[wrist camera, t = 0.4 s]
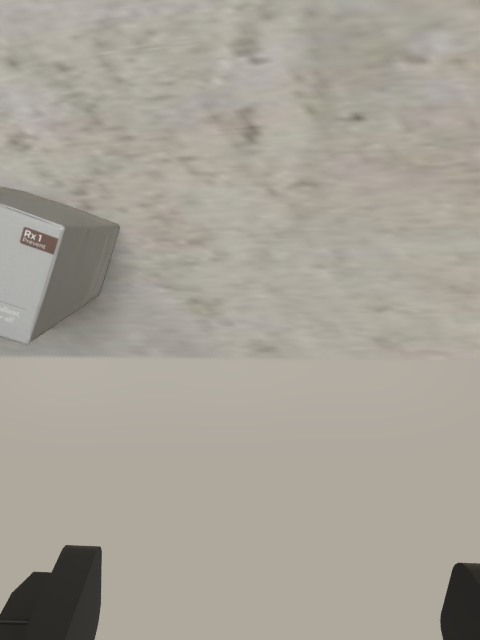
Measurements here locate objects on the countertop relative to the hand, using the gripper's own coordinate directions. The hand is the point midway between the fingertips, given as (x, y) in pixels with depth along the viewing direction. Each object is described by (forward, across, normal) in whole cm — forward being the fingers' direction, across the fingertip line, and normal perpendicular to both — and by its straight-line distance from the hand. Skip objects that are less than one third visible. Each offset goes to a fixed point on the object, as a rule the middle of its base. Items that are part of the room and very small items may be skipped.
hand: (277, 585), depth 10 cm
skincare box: (+29, +14, -4) cm, 32 cm away
